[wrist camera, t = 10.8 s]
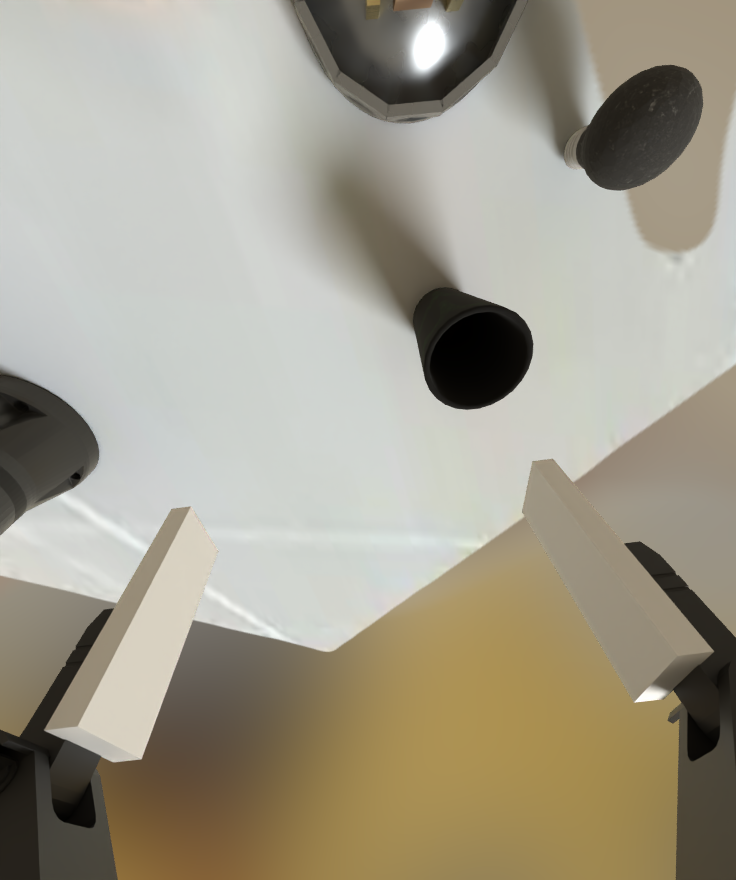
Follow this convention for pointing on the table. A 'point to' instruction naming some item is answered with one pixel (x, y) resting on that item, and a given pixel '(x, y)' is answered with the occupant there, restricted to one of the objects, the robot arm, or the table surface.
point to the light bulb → (638, 129)
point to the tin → (407, 51)
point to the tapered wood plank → (411, 4)
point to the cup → (470, 348)
